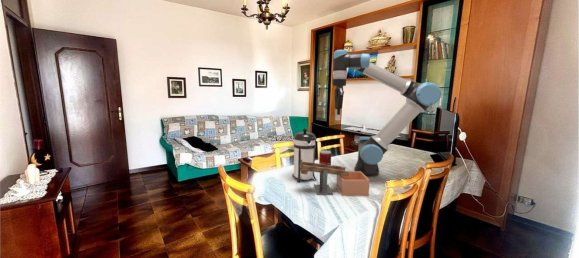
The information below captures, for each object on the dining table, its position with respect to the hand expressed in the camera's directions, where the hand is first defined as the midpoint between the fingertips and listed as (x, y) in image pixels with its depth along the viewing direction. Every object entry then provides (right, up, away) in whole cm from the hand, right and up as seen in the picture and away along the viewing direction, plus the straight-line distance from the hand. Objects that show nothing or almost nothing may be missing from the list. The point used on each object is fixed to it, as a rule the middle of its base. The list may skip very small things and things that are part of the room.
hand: (337, 120), depth 139 cm
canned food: (-4, -31, +23) cm, 39 cm away
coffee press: (-20, -34, +3) cm, 40 cm away
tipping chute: (-11, -28, -13) cm, 33 cm away
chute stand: (-11, -37, -15) cm, 41 cm away
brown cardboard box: (+4, -37, -14) cm, 40 cm away
